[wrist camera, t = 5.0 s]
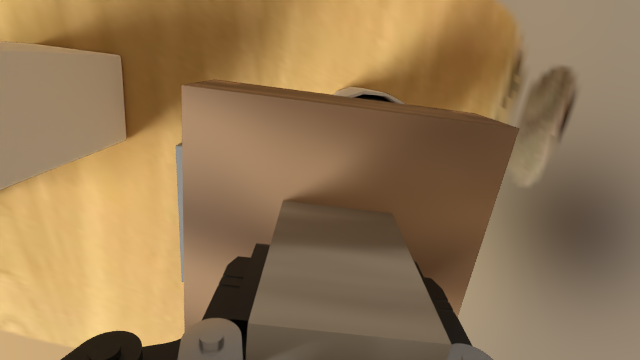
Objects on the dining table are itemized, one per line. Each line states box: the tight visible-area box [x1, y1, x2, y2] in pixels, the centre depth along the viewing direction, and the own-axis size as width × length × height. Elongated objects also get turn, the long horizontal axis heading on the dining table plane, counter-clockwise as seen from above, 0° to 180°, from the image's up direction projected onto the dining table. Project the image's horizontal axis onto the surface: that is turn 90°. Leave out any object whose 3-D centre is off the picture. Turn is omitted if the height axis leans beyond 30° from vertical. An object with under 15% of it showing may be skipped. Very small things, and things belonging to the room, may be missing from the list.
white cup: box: [333, 87, 405, 104], centre depth 24 cm, size 7×7×10 cm
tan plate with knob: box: [181, 80, 519, 360], centre depth 12 cm, size 11×11×10 cm
